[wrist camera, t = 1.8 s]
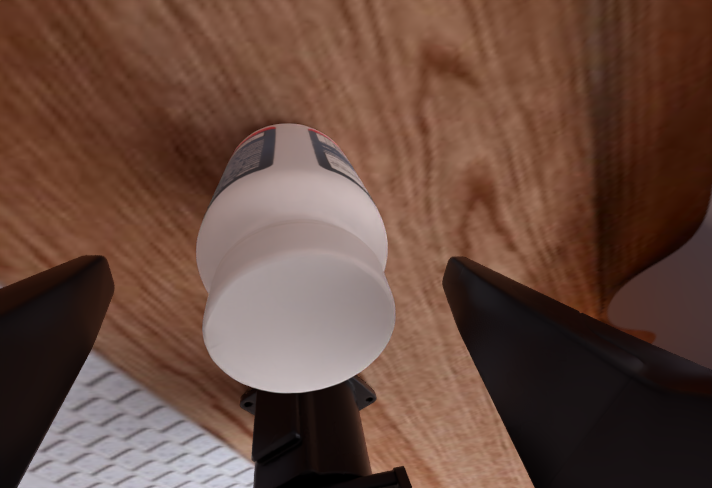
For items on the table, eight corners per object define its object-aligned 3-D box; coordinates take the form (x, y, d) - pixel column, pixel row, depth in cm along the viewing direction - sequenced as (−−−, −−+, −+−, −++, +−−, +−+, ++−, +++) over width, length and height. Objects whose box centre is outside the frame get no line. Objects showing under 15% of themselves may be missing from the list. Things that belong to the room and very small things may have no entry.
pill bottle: (233, 238, 15) (183, 426, 8) (220, 117, 12) (123, 220, 5) (347, 236, 16) (403, 399, 9) (357, 125, 14) (448, 219, 6)
